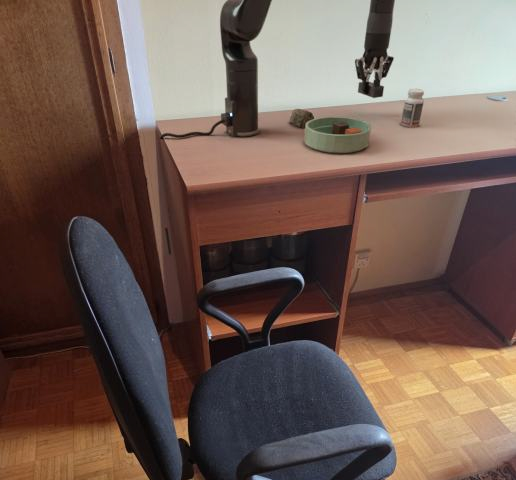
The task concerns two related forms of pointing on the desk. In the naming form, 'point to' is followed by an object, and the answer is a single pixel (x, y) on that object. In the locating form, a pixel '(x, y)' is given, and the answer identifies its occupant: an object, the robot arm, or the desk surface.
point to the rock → (300, 117)
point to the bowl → (325, 141)
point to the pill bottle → (413, 108)
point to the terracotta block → (352, 131)
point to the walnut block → (339, 128)
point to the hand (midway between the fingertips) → (369, 93)
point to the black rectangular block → (372, 90)
